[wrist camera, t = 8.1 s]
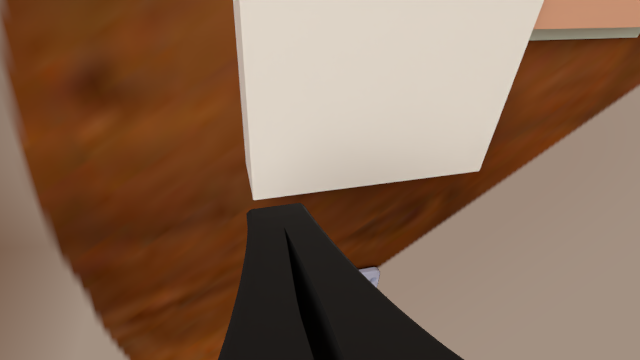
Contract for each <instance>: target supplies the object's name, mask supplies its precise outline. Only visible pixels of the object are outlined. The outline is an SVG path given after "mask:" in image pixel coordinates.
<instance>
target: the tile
mask: <svg viewBox="0 0 640 360" xmlns="http://www.w3.org/2000/svg"><path fill="white" fill-rule="evenodd" d="M624 27H640V0H544V2H543V4H542V7H541V10H540V12H539V15H538V17H537V20H536V23H535V25H534V28H533V29H573V28H624Z"/></svg>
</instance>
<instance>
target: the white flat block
mask: <svg viewBox="0 0 640 360" xmlns="http://www.w3.org/2000/svg"><path fill="white" fill-rule="evenodd" d="M543 2H544V0H233V6H234V18H235V31H236V43H237V56H238V68H239V81H240V93H241V106H242V118H243V131H244V144H245V156H246V166H247V171H248V176H249V181H250V186H251V191H252V196H253V200H259V199H266V198H274V197H282V196H290V195H297V194H305V193H313V192H321V191H328V190H336V189H344V188H352V187H359V186H367V185H375V184H383V183H390V182H398V181H406V180H414V179H421V178H429V177H437V176H445V175H452V174H460V173H468V172H476V171H479V170H480V168H481V165H482V162H483V160H484V157H485V155H486V152H487V149H488V147H489V144H490V141H491V139H492V136H493V133H494V131H495V128H496V126H497V123H498V120H499V118H500V115H501V112H502V110H503V107H504V104H505V102H506V99H507V97H508V94H509V91H510V89H511V86H512V83H513V81H514V78H515V75H516V73H517V70H518V68H519V65H520V62H521V60H522V57H523V54H524V52H525V49H526V46H527V44H528V41H529V39H530V36H531V33H532V31H533V28H534V25H535V23H536V20H537V17H538V15H539V12H540V10H541V7H542V4H543Z"/></svg>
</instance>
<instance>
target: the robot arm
mask: <svg viewBox="0 0 640 360" xmlns="http://www.w3.org/2000/svg"><path fill="white" fill-rule="evenodd" d="M247 225H248V234H247V245H246V253H245V259H244V264H243V270H242V275H241V281H240V285H239V289H238V293H237V297H236V301H235V305H234V309H233V312H232V316H231V320H230V323H229V327H228V330H227V333H226V337H225V340H224V343H223V346H222V349H221V352H220V355H219V358H218V360H464V359H462V358H461V357H459V356H458V355H457V354H455V353H454V352H452V351H451V350H450V349H448V348H447V347H446V346H444V345H443V344H442V343H440V342H439V341H437V340H436V339H435V338H434V337H433V336H431V335H430V334H429V333H428V332H426V331H425V330H424V329H423V328H421V327H420V326H419V325H418V324H417V323H415V322H414V321H413V320H412V319H410V318H409V317H408V316H407V315H406V314H405V313H403V312H402V311H401V310H400V309H399V308H398V307H397V306H396V305H394V304H393V303H392V302H391V301H390V300H389V299H388V298H387V297H386V296H384V295H383V294H382V293H381V292H380V291H379V290H378V289H377V284H378V280H379V276H380V271H379V269H378V268H377V267H371V268H366V269H360V270H358V269H357V268H356V267H355V266H354V265H353V264H352V262H351V261H350V260H349V259H348V258H347V257H346V256H345V255H344V254H343V253H342V252H341V251H340V249H339V248H338V247H337V246H336V245H335V244H334V243H333V242H332V240H331V239H330V238H329V237H328V236H327V234H326V233H325V232H324V231H323V230H322V228H321V227H320V226H319V225H318V223H317V222H316V221H315V220H314V218H313V217H312V216H311V214H310V213H309V212H308V210H307V209H306V208H305V206H304V205H302V204H301V203H295V204H288V205H281V206H273V207H266V208H258V209H251V210H250V211H249V212H248V213H247Z"/></svg>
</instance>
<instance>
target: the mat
mask: <svg viewBox="0 0 640 360" xmlns="http://www.w3.org/2000/svg"><path fill="white" fill-rule="evenodd" d="M639 33H640V27H624V28H573V29H533V31H532V33H531V36H530V39H529V40H562V39H599V38H635V37H638V35H639Z"/></svg>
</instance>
